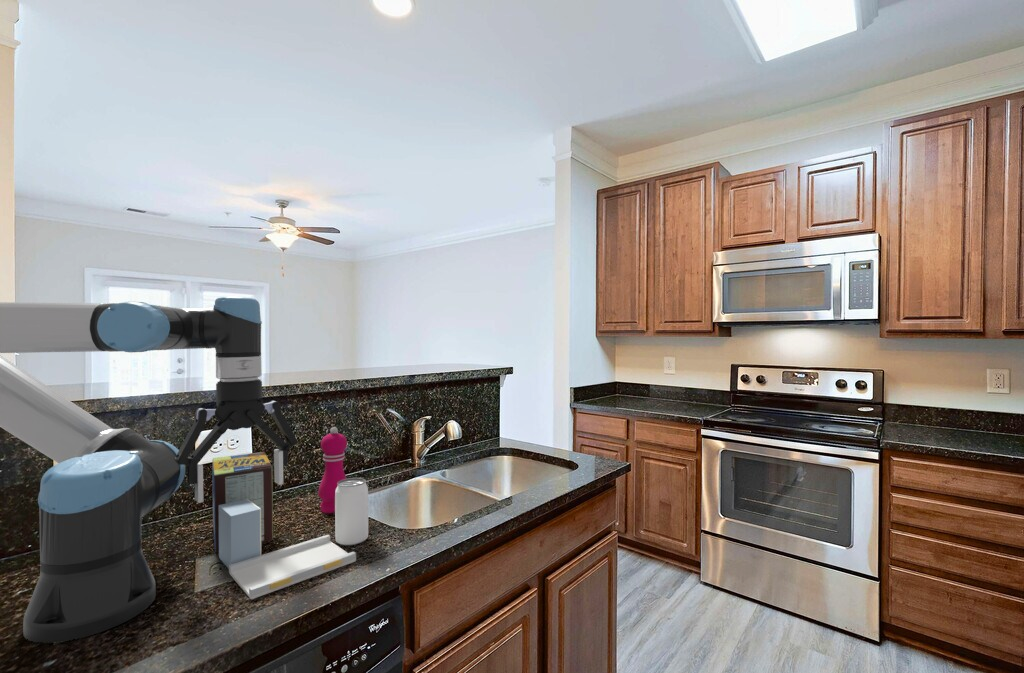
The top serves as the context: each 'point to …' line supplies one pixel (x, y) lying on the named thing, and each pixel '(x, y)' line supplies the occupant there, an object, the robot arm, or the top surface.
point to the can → (351, 511)
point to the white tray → (288, 566)
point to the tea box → (239, 531)
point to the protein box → (243, 488)
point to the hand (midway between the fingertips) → (241, 491)
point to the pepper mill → (332, 468)
